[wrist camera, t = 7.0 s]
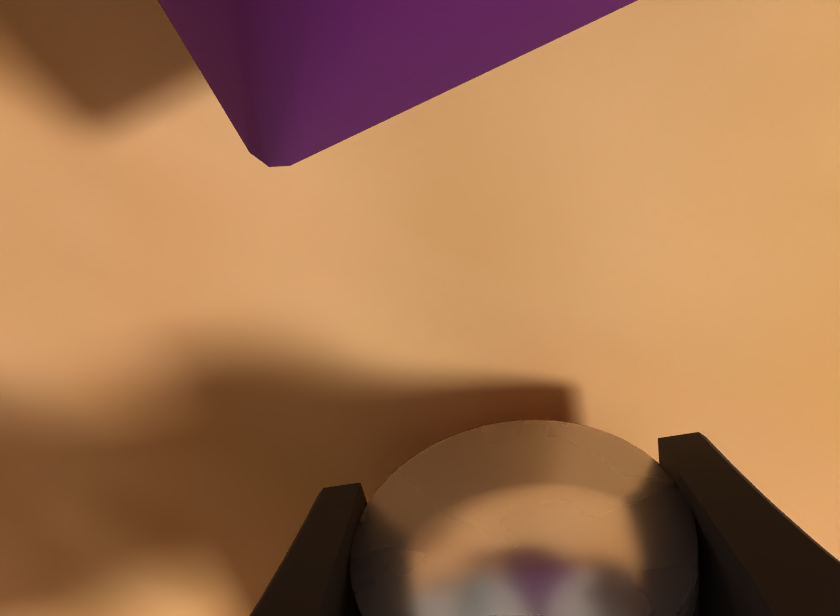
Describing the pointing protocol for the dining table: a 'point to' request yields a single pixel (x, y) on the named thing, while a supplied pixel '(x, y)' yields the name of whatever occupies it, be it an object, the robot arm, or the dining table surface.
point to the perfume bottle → (354, 58)
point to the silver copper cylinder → (527, 529)
